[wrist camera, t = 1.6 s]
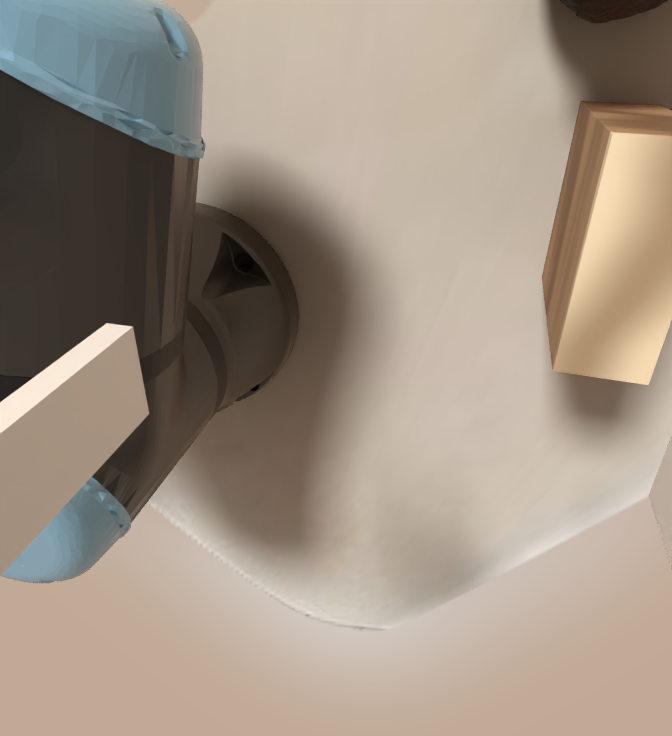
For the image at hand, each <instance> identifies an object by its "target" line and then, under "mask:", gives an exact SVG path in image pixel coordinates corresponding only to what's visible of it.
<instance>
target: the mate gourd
mask: <svg viewBox="0 0 672 736" xmlns="http://www.w3.org/2000/svg"><path fill="white" fill-rule="evenodd" d="M560 1H561V2H563V3H564V4H565V5H566V6H567V7H569V8H570V9H571V10H573V11H575V12H577V14H576V16H578V17H580V18H582V19H585V20H587V21H589V22H592V23H606V22H609V21H612V20H617V19H622V18H626V17H630V16H632V15H636V14H638V13H642V12H646V11H648V10H650V9H653V8H656V7H658V6H659V5H661V4H662V3H664V2H665V1H667V0H560Z"/></svg>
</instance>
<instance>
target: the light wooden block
mask: <svg viewBox="0 0 672 736" xmlns="http://www.w3.org/2000/svg"><path fill="white" fill-rule="evenodd" d="M542 281H543V290H544V299H545V307H546V316H547V325H548V334H549V343H550V352H551V360H552V369H553V371H556V372H563V373H569V374H576V375H583V376H590V377H597V378H603V379H610V380H617V381H624V382H631V383H637V384H644V385H649V382H650V379H651V377H652V374H653V371H654V368H655V365H656V363H657V360H658V357H659V354H660V351H661V349H662V346H663V343H664V340H665V337H666V335H667V332H668V329H669V326H670V323H671V321H672V111H671V110H669V109H667V108H665V107H663V106H661V105H642V104H622V103H603V102H584V101H581V102H580V107H579V111H578V116H577V120H576V125H575V129H574V134H573V139H572V143H571V148H570V152H569V157H568V161H567V166H566V170H565V175H564V179H563V184H562V188H561V193H560V198H559V202H558V207H557V211H556V216H555V220H554V225H553V229H552V234H551V238H550V243H549V247H548V252H547V257H546V261H545V266H544V270H543V275H542Z"/></svg>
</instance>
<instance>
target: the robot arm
mask: <svg viewBox="0 0 672 736" xmlns="http://www.w3.org/2000/svg"><path fill="white" fill-rule="evenodd" d="M202 83H203V61H202V53H201V48H200V45H199V42H198V40H197V37H196V35H195V33H194V32H193V30H192V28H191V27H190V25H189V24H188V23H187V21H186V20H185V19H184V18H183V17H182V16H181V15H180V14H179V13H178V12H177V11H176V10H175V9H173V8H172V7H171V6H169V5H167V4H166V3H164V2H163V1H161V0H0V576H3V577H6V578H10V579H14V580H18V581H23V582H30V583H51V582H54V581H63V580H67V579H71V578H75V577H77V576H79V575H81V574H83V573H84V572H86V571H87V570H89V569H90V568H91V567H92V566H93V565H94V564H95V563H96V562H97V561H98V560H99V559H100V558H101V557H102V556H103V555H104V553H105V552H106V551H107V550H108V549H109V548H110V547H111V546H112V545H113V544H114V543H115V542H116V541H117V540H118V539H119V538H121V537H122V536H124V535H125V534H126V533H127V532H128V531H129V529H130V528H131V522H132V521H133V520H134V519H135V517H136V516H137V515H138V513H139V512H140V511H141V509H142V508H143V507H144V505H145V504H146V503H147V502H148V500H149V499H150V498H151V496H152V495H153V494H154V492H155V491H156V490H157V488H158V487H159V486H160V485H161V483H162V482H163V481H164V479H165V478H166V477H167V475H168V474H169V473H170V471H171V470H172V469H173V468H174V466H175V465H176V464H177V462H178V461H179V460H180V458H181V457H182V456H183V454H184V453H185V452H186V451H187V449H188V448H189V447H190V445H191V444H192V443H193V441H194V440H195V439H196V437H197V436H198V435H199V434H200V432H201V431H202V430H203V428H204V427H205V426H206V424H207V423H208V422H209V421H210V419H211V418H212V417H213V415H214V414H215V413H217V412H219V411H221V410H223V409H225V408H227V407H228V406H230V405H232V404H233V403H234V402H236V401H239V400H242V399H244V398H246V397H248V396H250V395H252V394H254V393H256V392H257V391H259V390H260V389H262V388H263V387H264V386H265V385H266V384H267V383H269V382H270V381H271V379H272V378H273V377H274V376H275V375H276V373H277V372H278V371H279V369H280V368H281V366H282V365H283V364H284V362H285V361H286V359H287V357H288V356H289V354H290V352H291V350H292V348H293V345H294V342H295V339H296V334H297V328H298V307H297V300H296V295H295V292H294V288H293V285H292V282H291V280H290V277H289V275H288V273H287V271H286V269H285V267H284V265H283V263H282V262H281V260H280V258H279V257H278V256H277V254H276V253H275V251H274V250H273V249H272V248H271V246H270V245H269V244H268V243H267V242H266V241H265V239H264V238H263V237H262V236H260V235H259V234H258V233H257V232H256V231H255V230H254V229H253V228H251V227H250V226H249V225H247V224H246V223H245V222H243V221H242V220H240V219H239V218H237V217H235V216H233V215H232V214H230V213H228V212H226V211H223V210H221V209H218V208H216V207H213V206H209V205H206V204H201V203H196V193H197V180H198V169H199V159H201V158H203V155H204V151H205V142H204V140H203V138H202V137H201V118H202ZM649 498H650V501H651V504H652V508H653V511H654V514H655V517H656V520H657V524H658V527H659V530H660V533H661V536H662V539H663V543H664V546H665V549H666V552H667V555H668V559H669V562H670V565H671V568H672V436H671V439H670V441H669V444H668V446H667V449H666V452H665V454H664V457H663V459H662V462H661V465H660V467H659V470H658V472H657V475H656V478H655V480H654V483H653V485H652V488H651V491H650V493H649Z"/></svg>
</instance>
